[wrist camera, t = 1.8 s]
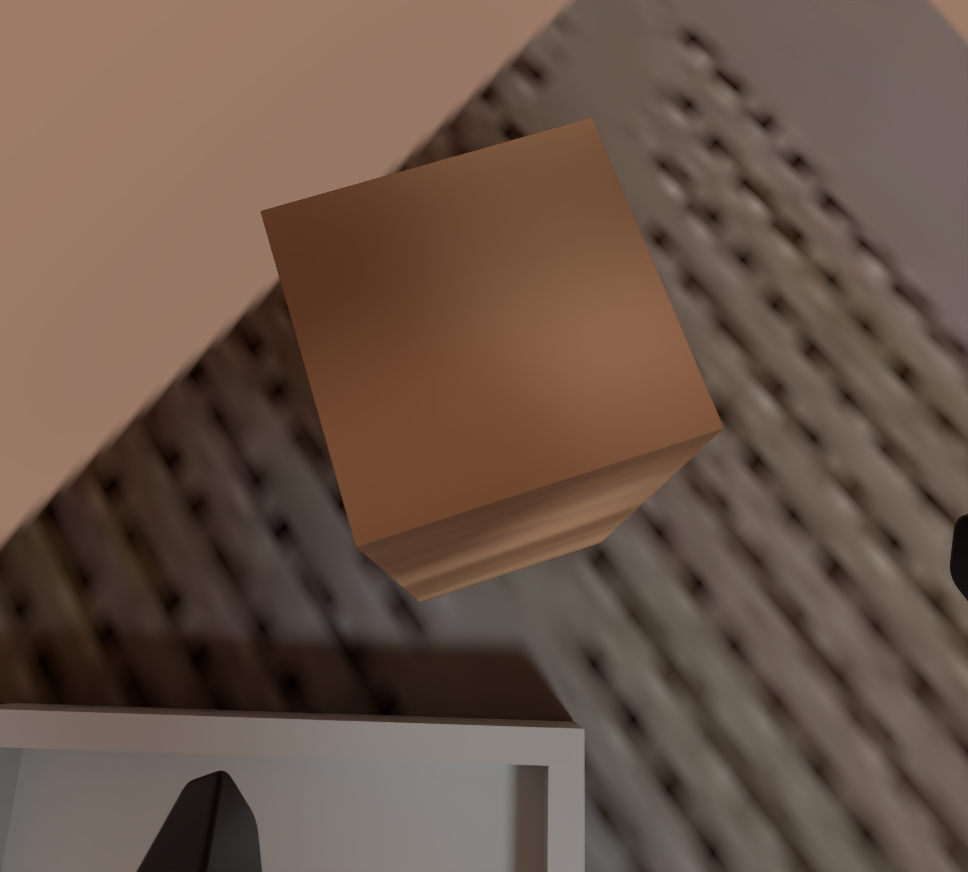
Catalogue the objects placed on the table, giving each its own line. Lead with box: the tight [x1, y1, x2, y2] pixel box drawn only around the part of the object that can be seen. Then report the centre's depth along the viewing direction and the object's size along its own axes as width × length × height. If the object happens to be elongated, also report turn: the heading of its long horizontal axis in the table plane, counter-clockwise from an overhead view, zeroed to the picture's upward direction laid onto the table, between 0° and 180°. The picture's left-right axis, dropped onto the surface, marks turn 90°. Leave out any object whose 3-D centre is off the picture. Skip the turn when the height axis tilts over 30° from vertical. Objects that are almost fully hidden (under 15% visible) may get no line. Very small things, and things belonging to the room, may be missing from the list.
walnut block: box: [261, 118, 724, 602], centre depth 16 cm, size 5×5×11 cm
